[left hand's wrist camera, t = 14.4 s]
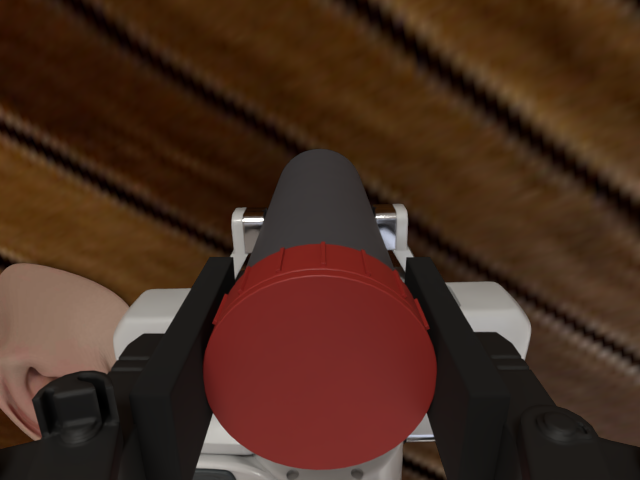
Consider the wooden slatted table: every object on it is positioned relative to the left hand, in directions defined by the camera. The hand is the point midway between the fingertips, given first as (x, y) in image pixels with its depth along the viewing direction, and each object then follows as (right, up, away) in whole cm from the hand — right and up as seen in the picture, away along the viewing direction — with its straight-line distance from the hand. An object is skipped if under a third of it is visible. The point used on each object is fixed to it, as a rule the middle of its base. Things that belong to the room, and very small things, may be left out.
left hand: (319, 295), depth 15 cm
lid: (0, -1, -4) cm, 4 cm away
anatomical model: (-17, -6, +17) cm, 25 cm away
